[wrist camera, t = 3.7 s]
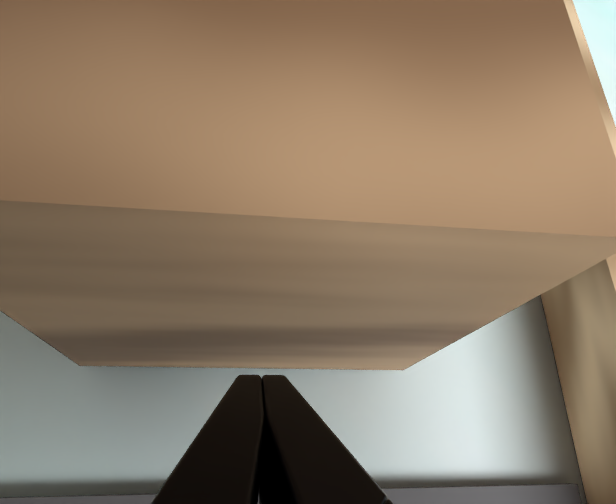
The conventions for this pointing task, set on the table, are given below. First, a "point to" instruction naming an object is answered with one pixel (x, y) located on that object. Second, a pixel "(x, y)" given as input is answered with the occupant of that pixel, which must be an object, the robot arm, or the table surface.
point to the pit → (427, 500)
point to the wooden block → (291, 176)
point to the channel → (589, 341)
